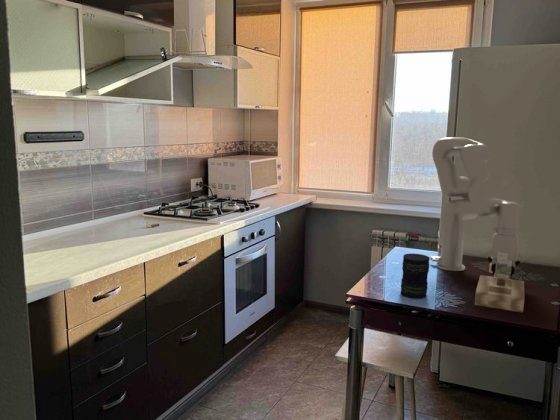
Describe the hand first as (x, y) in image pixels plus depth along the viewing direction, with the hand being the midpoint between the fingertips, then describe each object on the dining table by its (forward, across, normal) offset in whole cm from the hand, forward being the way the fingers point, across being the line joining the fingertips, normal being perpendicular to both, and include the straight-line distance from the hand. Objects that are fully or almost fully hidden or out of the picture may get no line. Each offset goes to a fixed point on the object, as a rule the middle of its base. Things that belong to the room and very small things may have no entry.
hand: (502, 273), depth 209 cm
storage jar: (+5, -30, -32) cm, 44 cm away
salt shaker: (+5, -2, +19) cm, 20 cm away
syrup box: (+5, 0, 0) cm, 5 cm away
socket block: (+5, 0, -20) cm, 21 cm away
